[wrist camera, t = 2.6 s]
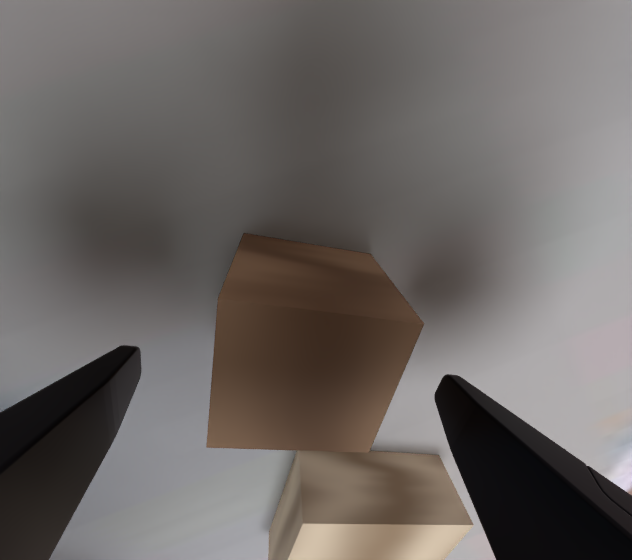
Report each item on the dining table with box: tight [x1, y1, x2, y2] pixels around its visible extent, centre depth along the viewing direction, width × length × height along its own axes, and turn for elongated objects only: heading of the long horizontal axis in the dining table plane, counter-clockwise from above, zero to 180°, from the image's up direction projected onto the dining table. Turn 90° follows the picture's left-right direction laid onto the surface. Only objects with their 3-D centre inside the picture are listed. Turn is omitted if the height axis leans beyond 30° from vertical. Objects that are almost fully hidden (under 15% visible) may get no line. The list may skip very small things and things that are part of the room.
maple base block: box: [268, 450, 473, 560], centre depth 18 cm, size 9×9×4 cm
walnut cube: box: [207, 233, 424, 453], centre depth 10 cm, size 5×5×5 cm
